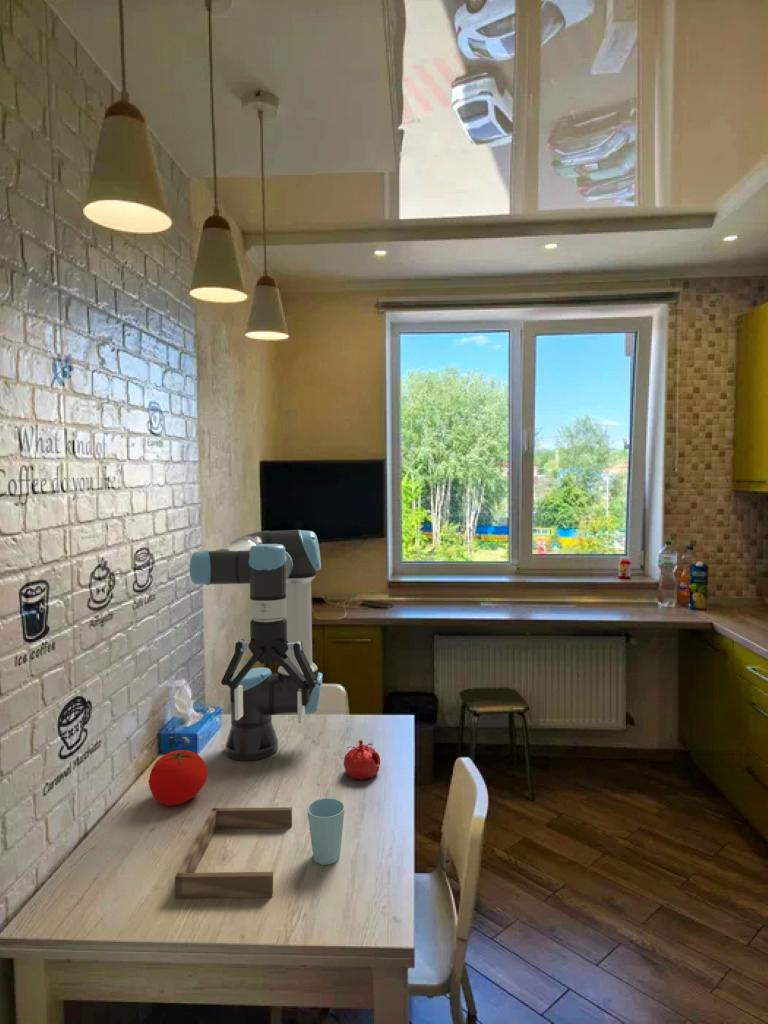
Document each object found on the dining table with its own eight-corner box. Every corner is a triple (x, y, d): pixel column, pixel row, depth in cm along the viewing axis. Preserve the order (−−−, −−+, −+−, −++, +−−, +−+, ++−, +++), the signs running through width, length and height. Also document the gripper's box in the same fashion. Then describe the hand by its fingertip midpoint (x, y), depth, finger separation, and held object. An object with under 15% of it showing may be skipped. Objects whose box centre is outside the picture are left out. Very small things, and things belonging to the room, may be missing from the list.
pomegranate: (348, 786, 151) (347, 751, 151) (340, 769, 161) (339, 735, 161) (385, 780, 154) (384, 745, 154) (374, 763, 164) (373, 730, 163)
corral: (213, 825, 134) (212, 808, 134) (292, 824, 134) (291, 807, 134) (175, 898, 109) (175, 877, 109) (272, 897, 109) (271, 876, 109)
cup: (302, 852, 123) (301, 803, 123) (335, 841, 127) (335, 794, 127) (316, 873, 116) (315, 821, 116) (351, 860, 120) (350, 810, 120)
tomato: (163, 785, 152) (162, 741, 152) (214, 787, 151) (214, 742, 151) (138, 812, 140) (137, 763, 139) (194, 814, 139) (193, 765, 138)
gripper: (204, 620, 121) (205, 723, 121) (322, 623, 117) (323, 728, 118) (219, 613, 128) (221, 710, 129) (331, 615, 125) (332, 715, 125)
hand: (270, 719), depth 123 cm, fingers open, 13 cm apart
